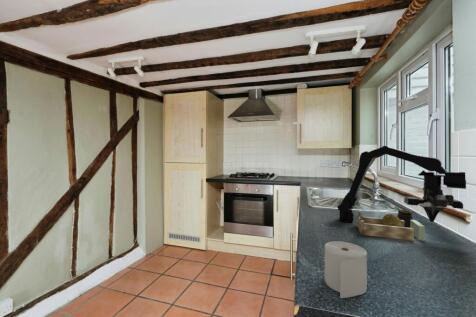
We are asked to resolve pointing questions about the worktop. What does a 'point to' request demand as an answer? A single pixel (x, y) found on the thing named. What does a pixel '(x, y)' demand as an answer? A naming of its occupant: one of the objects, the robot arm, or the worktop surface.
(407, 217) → the mate gourd
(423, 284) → the worktop surface
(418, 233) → the pale green block
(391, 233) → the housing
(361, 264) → the toilet tissue
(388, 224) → the potato
